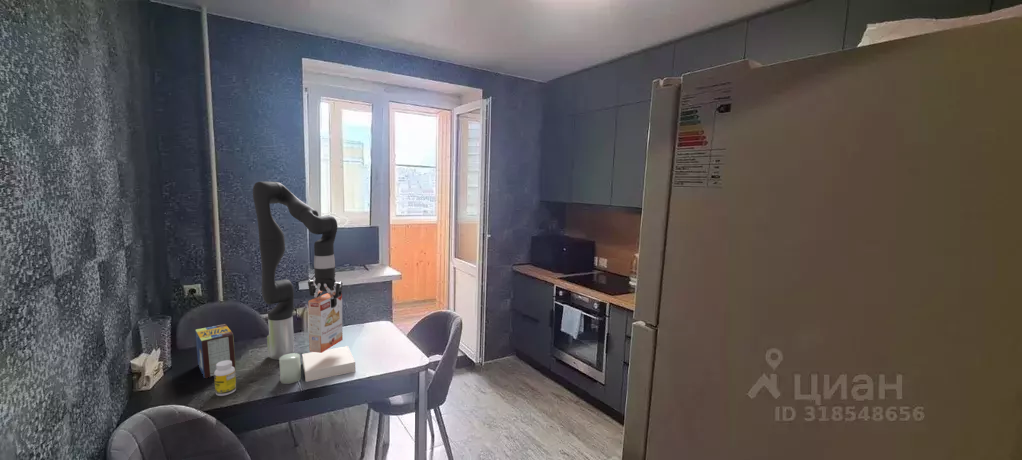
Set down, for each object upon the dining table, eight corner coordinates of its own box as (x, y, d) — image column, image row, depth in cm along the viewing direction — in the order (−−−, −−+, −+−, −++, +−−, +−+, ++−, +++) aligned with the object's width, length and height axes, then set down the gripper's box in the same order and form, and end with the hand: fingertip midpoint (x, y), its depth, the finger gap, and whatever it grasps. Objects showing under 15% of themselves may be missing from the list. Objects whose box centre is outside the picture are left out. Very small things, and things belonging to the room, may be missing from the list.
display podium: (305, 381, 155) (305, 371, 155) (302, 363, 171) (302, 354, 170) (355, 371, 164) (355, 362, 164) (348, 354, 180) (347, 345, 179)
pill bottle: (211, 394, 145) (209, 364, 144) (228, 386, 151) (226, 357, 150) (223, 398, 143) (221, 368, 142) (240, 389, 149) (238, 360, 147)
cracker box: (322, 353, 159) (320, 301, 156) (308, 352, 160) (306, 300, 158) (344, 340, 173) (342, 292, 170) (331, 338, 174) (329, 291, 171)
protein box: (228, 358, 174) (225, 323, 172) (236, 370, 163) (233, 333, 161) (197, 365, 167) (194, 329, 165) (203, 379, 156) (200, 340, 154)
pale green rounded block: (276, 382, 154) (274, 360, 153) (289, 374, 161) (287, 352, 160) (292, 384, 153) (291, 361, 152) (305, 375, 160) (304, 354, 159)
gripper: (302, 266, 160) (303, 308, 162) (335, 268, 157) (336, 310, 160) (314, 263, 167) (315, 302, 169) (346, 265, 165) (347, 305, 167)
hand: (326, 306), depth 164 cm, fingers closed on cracker box, 6 cm apart
